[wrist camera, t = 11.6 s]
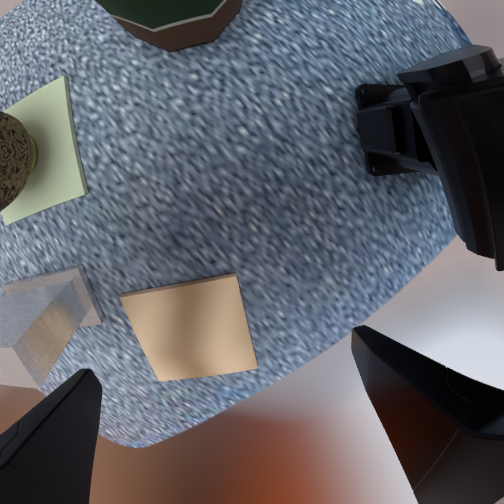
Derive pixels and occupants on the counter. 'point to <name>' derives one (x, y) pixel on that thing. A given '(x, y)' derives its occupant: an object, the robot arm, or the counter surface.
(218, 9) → the beer bottle
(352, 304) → the counter surface
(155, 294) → the oak mat
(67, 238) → the counter surface
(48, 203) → the sage mat
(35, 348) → the box
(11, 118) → the brown ornate lampshade
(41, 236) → the counter surface
